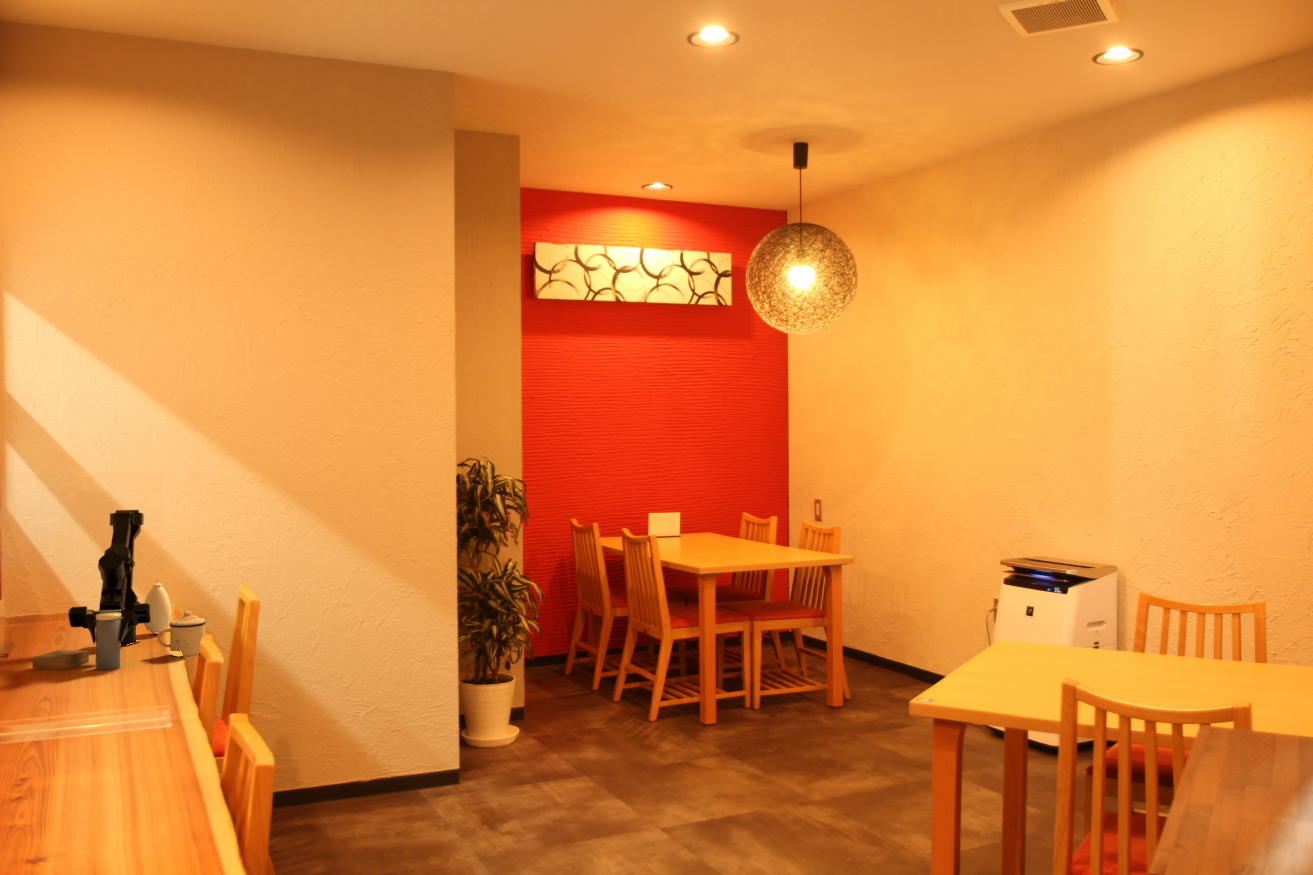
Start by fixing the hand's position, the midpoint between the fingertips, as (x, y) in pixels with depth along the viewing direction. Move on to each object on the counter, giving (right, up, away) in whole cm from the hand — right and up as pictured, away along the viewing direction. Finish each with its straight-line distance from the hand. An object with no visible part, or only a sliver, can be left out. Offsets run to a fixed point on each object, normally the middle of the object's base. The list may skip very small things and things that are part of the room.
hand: (107, 641), depth 255 cm
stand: (-14, -7, +4) cm, 16 cm away
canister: (-1, -7, +1) cm, 7 cm away
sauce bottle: (-11, -7, +47) cm, 48 cm away
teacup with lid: (+11, -7, +18) cm, 22 cm away
